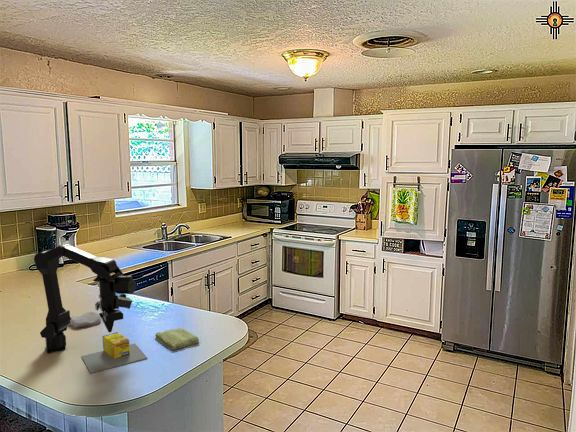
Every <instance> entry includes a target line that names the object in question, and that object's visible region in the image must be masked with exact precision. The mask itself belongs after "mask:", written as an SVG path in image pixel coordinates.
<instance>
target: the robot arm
mask: <svg viewBox="0 0 576 432" xmlns="http://www.w3.org/2000/svg"><path fill="white" fill-rule="evenodd" d="M62 257H63V258H67V259H68V260H71V261H74V262H76V263H78V264H81V265H83V266H85V267H87V268H89V269H90V270H91V272H93V274H95V275H96V277H95V278H94V279H93V282H98V286H99V287H98V288H99V294H98V299H99V301H96V302H95V304H94V307H95V308H94V309H95V310H96V311H99V310H100V313H98V315H99V316H100V319H101V322H102V323H103V324H104V326H105V328H106V330H107V332H108V333H113V332H112V331H113V327H114V324H115V323H114V322H115V321H120V320H124V313H123V312H122V311H121V310H120V308H124V309H128V310H130V309H131V306H132V303H133V299H131V298H130V297H127V295H133V294H134V293H135V292H136V288H137V283H136V280H135V279H134V278H133V275H124V272H123V271H122V270H121V269H120V267H119V266H118V265H117V261H116V260H114V259H112V258H109V257H103V256H96V255H94V254H91V253H88V252H86V251H84V250H81V249H79V248H76V246H72V245H71V244H69V243H64V244H60V245H58V246H56V247H54V248H52V249H51V248H50V249H48V250H44V251H43V250H42V251H40V252H37V253H36V254H35V255H34V257H33V262H34V265H35V266H36V270H37V271H38V272H39V273H40V274H41V275H42V281H43V286H44V287H43V288H44V292H45V298H46V303H47V309H48V311H47V313H46V314H47V315H46V317H45V327H43V329H42V330H41V331H40V333H39V334H40V336H41V338H43V339H45V347H44V349H45V351H46V353H47V354H50V353H55V352H59V351H64V350H67V349H66V347H67V338H66V337H67V336H66V334H65V331H67V330H68V327H69V325H70V320H71V313H70V312H71V311H70V310H68V309H67V310H66V309H65V308H64V307H63V302H62V296H61V290H60V284H59V279H58V273H57V271H58V268H59V265H60V258H62ZM119 294H120V295H119Z"/></svg>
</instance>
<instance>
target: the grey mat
mask: <svg viewBox="0 0 576 432" xmlns="http://www.w3.org/2000/svg"><path fill="white" fill-rule="evenodd" d="M129 347H130V354H129V355H125V356H122V357H119V358H116V359H114V358H113V357H112V356H110V355H109V354H108V353H107V352H105V351H104V350H101V351H97V352H93V353H89V354H84V355H81V358H82V361H83V363H84V365H85V366H86V369H88V372H89V373H90V374H95V373H97V372H99V373H100V372H101V371H102V372H103V371H105V370H109V369H113V368H117V367H123V366H125V365H128V364H132V363H136V362H141V361H144V360H148V357H147V355H146V354H145V353H144V352H143V351H142V349H141V348H139V346H138V345H137V344H136V343H131V344H130V343H129Z"/></svg>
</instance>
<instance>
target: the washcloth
mask: <svg viewBox="0 0 576 432" xmlns="http://www.w3.org/2000/svg"><path fill="white" fill-rule="evenodd" d="M154 339H155V341H157V342H158V343H160V344H162V345H163V346H165V347H166V348H168V349H169V350H171V351H177V350H179V349H182V348H185V347H188V346H192V345H196V344H199V342H200V341H199V340H200V339H199V337H198V336H197V335H196V334H193V333H192V332H189V331H187V329H185V328H182V327H179V328H175V329H174V328H173V329H166V330H165V331H163V332H161V331H160V332H156V333H155V338H154Z"/></svg>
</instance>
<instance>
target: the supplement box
mask: <svg viewBox="0 0 576 432" xmlns="http://www.w3.org/2000/svg"><path fill="white" fill-rule="evenodd" d="M129 345H130V339H129V338H127V337H125V336H124V335H123V334H121V333H119V332H118V331H116V332H112V333H109V334H106V335H103V336H102V348H103V349H102V351H105V352H107V353H108V354H109V355H110V356H112V357H113V358H114V359H116V358H119V357H122V356H125V355H129V354H130V347H129Z"/></svg>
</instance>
